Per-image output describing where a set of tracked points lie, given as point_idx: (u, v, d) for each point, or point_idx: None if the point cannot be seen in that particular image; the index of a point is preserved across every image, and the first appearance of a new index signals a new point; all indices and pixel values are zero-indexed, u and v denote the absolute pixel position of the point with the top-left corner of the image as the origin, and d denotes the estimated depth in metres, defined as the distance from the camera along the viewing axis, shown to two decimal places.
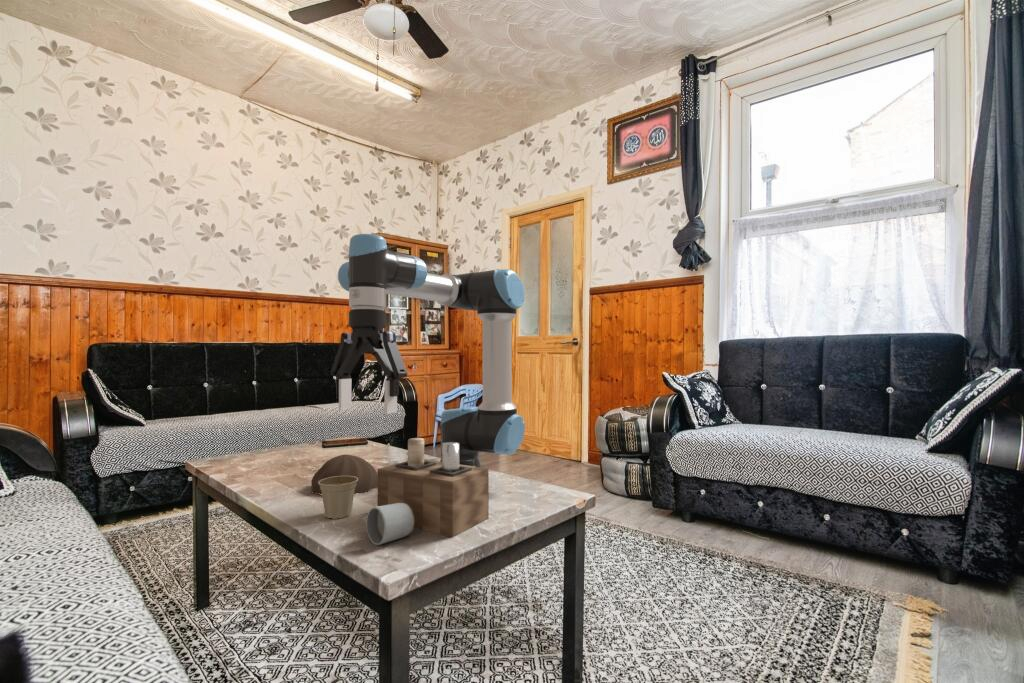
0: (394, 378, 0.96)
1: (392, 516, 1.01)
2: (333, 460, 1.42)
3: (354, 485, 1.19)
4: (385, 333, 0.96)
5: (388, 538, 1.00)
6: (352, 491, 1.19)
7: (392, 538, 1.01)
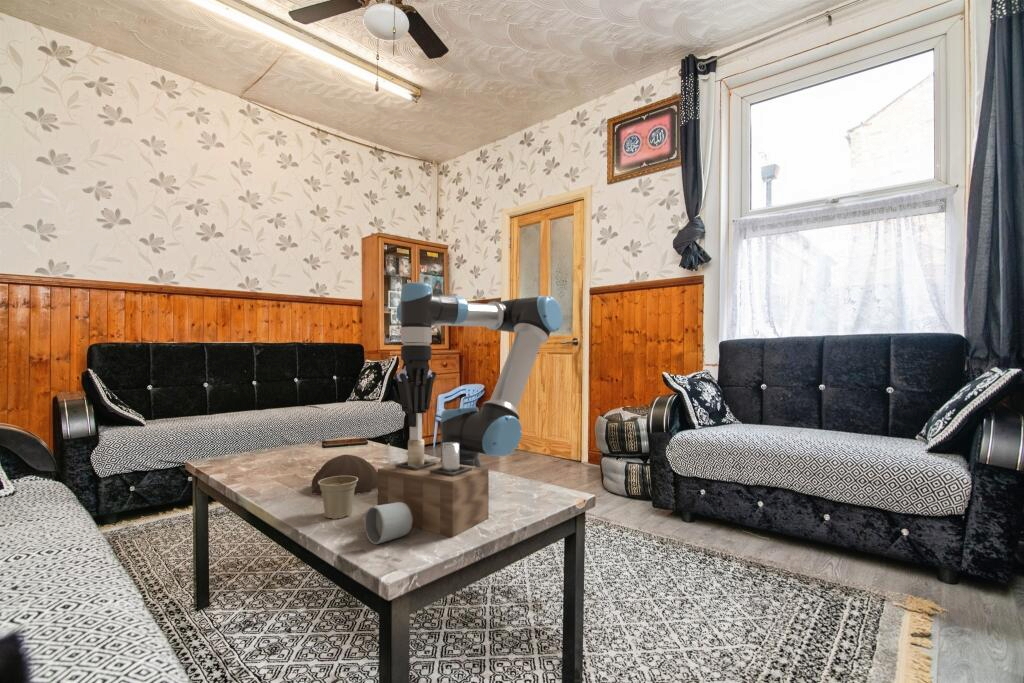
0: None
1: (390, 515, 1.01)
2: (334, 460, 1.42)
3: (354, 485, 1.19)
4: None
5: (386, 537, 1.00)
6: (352, 491, 1.19)
7: (390, 537, 1.01)
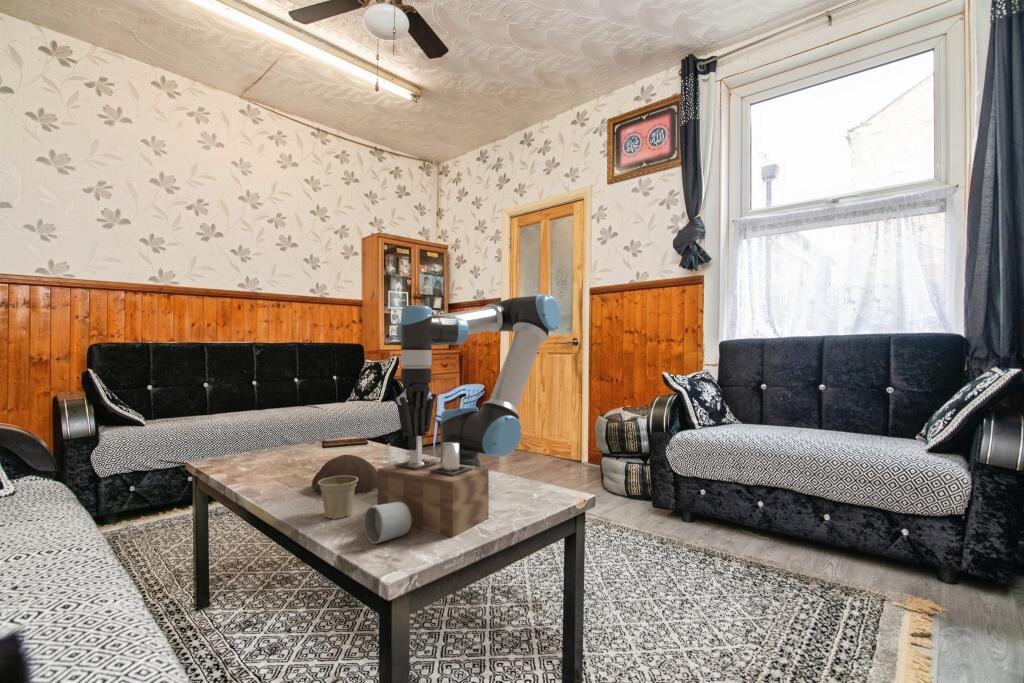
0: None
1: (389, 515, 1.01)
2: (334, 460, 1.42)
3: (354, 485, 1.19)
4: None
5: (385, 537, 1.00)
6: (352, 491, 1.19)
7: (389, 537, 1.01)
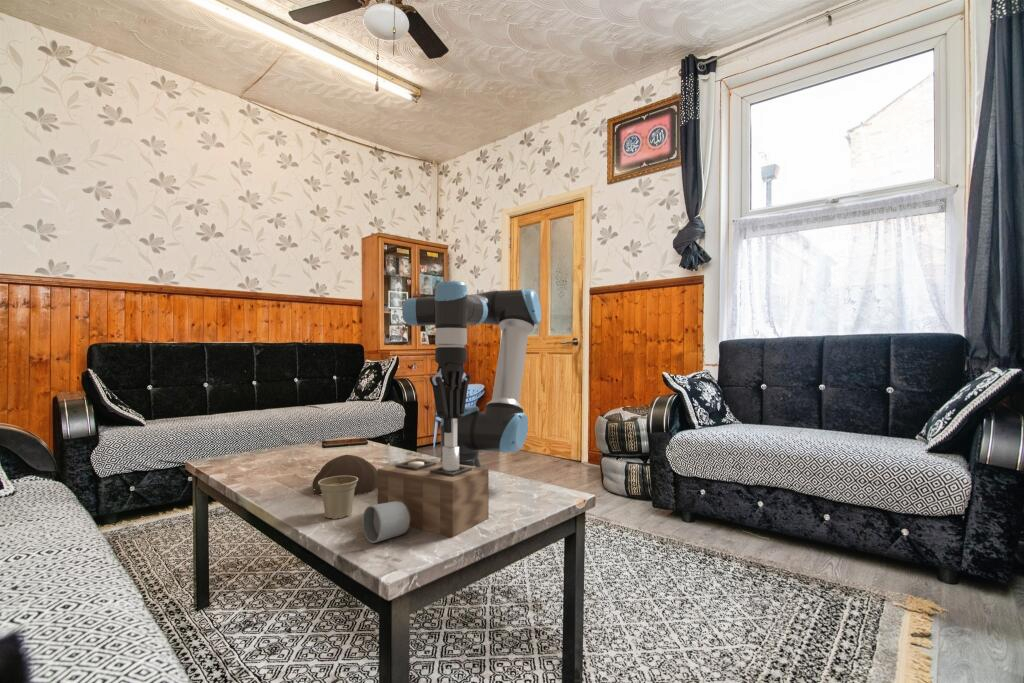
0: None
1: (388, 514, 1.02)
2: (335, 460, 1.41)
3: (354, 485, 1.19)
4: None
5: (384, 536, 1.01)
6: (352, 491, 1.19)
7: (388, 536, 1.02)
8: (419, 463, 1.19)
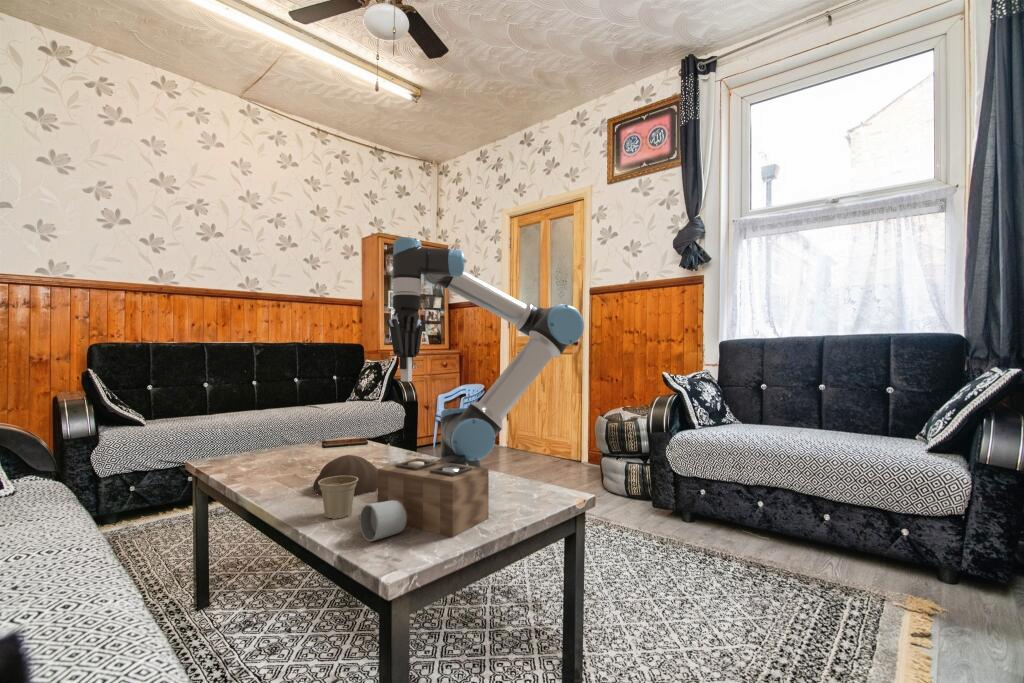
0: None
1: (385, 513, 1.02)
2: (337, 461, 1.41)
3: (354, 485, 1.19)
4: None
5: (381, 535, 1.02)
6: (352, 491, 1.19)
7: (385, 535, 1.02)
8: (419, 463, 1.19)
